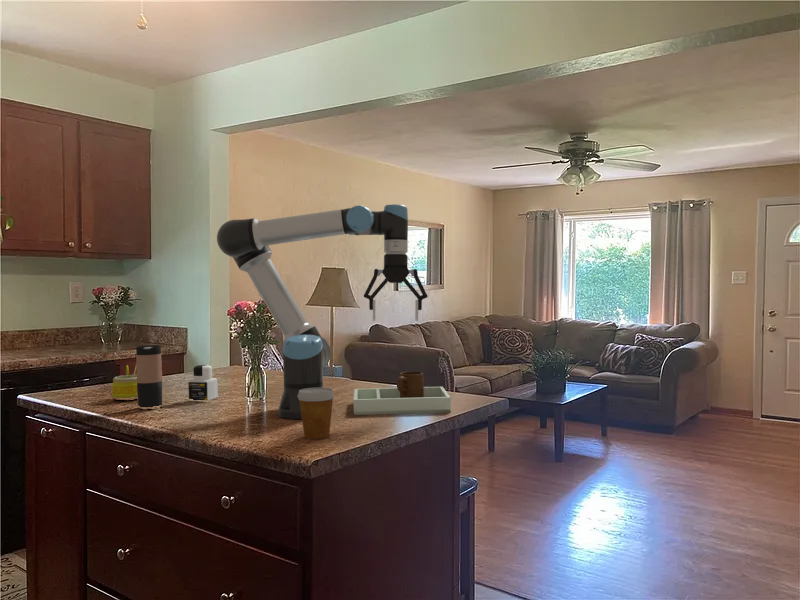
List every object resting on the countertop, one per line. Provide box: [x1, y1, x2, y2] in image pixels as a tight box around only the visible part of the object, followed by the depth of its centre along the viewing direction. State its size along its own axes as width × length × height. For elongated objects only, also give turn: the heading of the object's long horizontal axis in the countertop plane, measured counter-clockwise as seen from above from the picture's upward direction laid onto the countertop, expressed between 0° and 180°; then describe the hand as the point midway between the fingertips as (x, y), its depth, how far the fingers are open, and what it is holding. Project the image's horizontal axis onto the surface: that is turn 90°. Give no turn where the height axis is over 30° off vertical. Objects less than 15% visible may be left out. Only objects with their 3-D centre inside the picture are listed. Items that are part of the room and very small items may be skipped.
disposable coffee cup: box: [297, 387, 336, 440], centre depth 167 cm, size 10×10×12 cm
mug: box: [396, 371, 425, 398], centre depth 204 cm, size 12×8×9 cm, turn 148°
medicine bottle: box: [188, 364, 219, 400], centre depth 223 cm, size 7×7×12 cm
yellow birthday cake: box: [111, 363, 138, 398], centre depth 228 cm, size 13×11×12 cm
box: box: [353, 386, 452, 416], centre depth 204 cm, size 29×20×4 cm
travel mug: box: [135, 344, 163, 407], centre depth 210 cm, size 8×8×20 cm
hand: (395, 320), depth 207 cm, fingers open, 13 cm apart
